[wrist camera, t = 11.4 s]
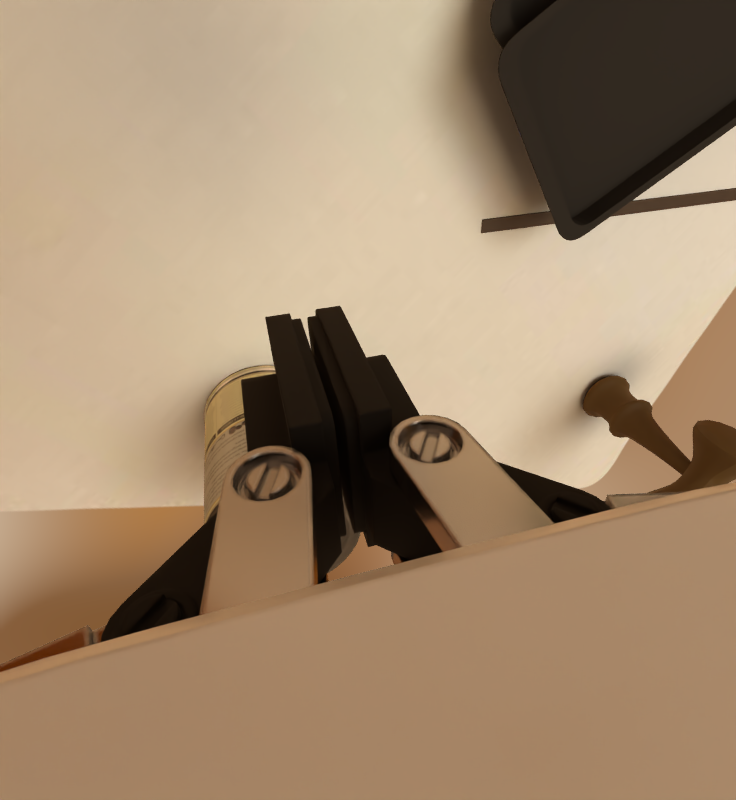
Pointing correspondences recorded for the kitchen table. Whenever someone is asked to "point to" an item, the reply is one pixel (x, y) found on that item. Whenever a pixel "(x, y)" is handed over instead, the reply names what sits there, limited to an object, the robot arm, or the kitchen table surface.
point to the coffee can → (238, 445)
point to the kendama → (666, 437)
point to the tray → (614, 94)
